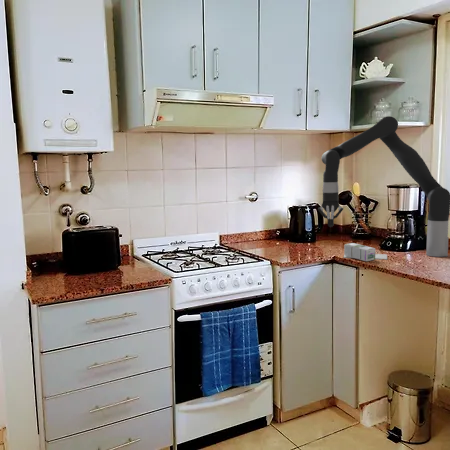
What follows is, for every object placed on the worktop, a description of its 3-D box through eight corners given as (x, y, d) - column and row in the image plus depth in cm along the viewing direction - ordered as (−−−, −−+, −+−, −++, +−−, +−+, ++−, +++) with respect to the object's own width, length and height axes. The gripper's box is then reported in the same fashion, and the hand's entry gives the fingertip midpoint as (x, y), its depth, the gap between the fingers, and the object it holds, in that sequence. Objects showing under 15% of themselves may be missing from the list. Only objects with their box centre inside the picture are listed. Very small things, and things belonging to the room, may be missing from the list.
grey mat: (386, 255, 232) (386, 254, 232) (387, 259, 221) (387, 258, 221) (345, 253, 238) (345, 252, 238) (343, 257, 227) (343, 256, 227)
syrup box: (343, 255, 229) (366, 262, 217) (344, 243, 228) (367, 250, 215) (352, 253, 232) (375, 260, 220) (352, 241, 231) (375, 248, 218)
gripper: (345, 191, 232) (344, 226, 234) (317, 191, 237) (318, 225, 239) (343, 191, 225) (343, 227, 227) (315, 192, 230) (316, 227, 231)
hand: (330, 226), depth 233 cm, fingers closed
